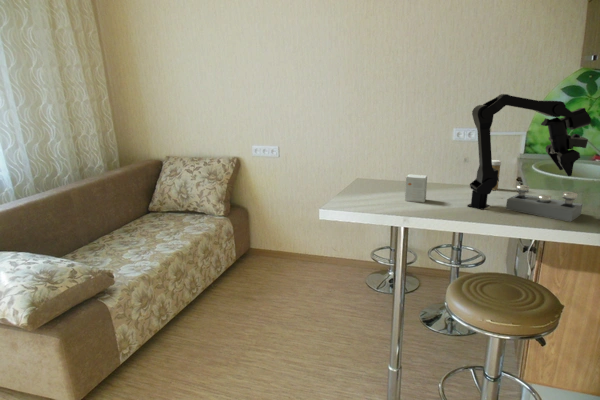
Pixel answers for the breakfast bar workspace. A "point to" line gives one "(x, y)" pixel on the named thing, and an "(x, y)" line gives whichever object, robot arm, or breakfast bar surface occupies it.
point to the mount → (544, 207)
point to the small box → (416, 188)
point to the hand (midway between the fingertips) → (565, 172)
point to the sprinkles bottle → (496, 166)
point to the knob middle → (544, 198)
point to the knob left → (522, 191)
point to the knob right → (569, 198)
